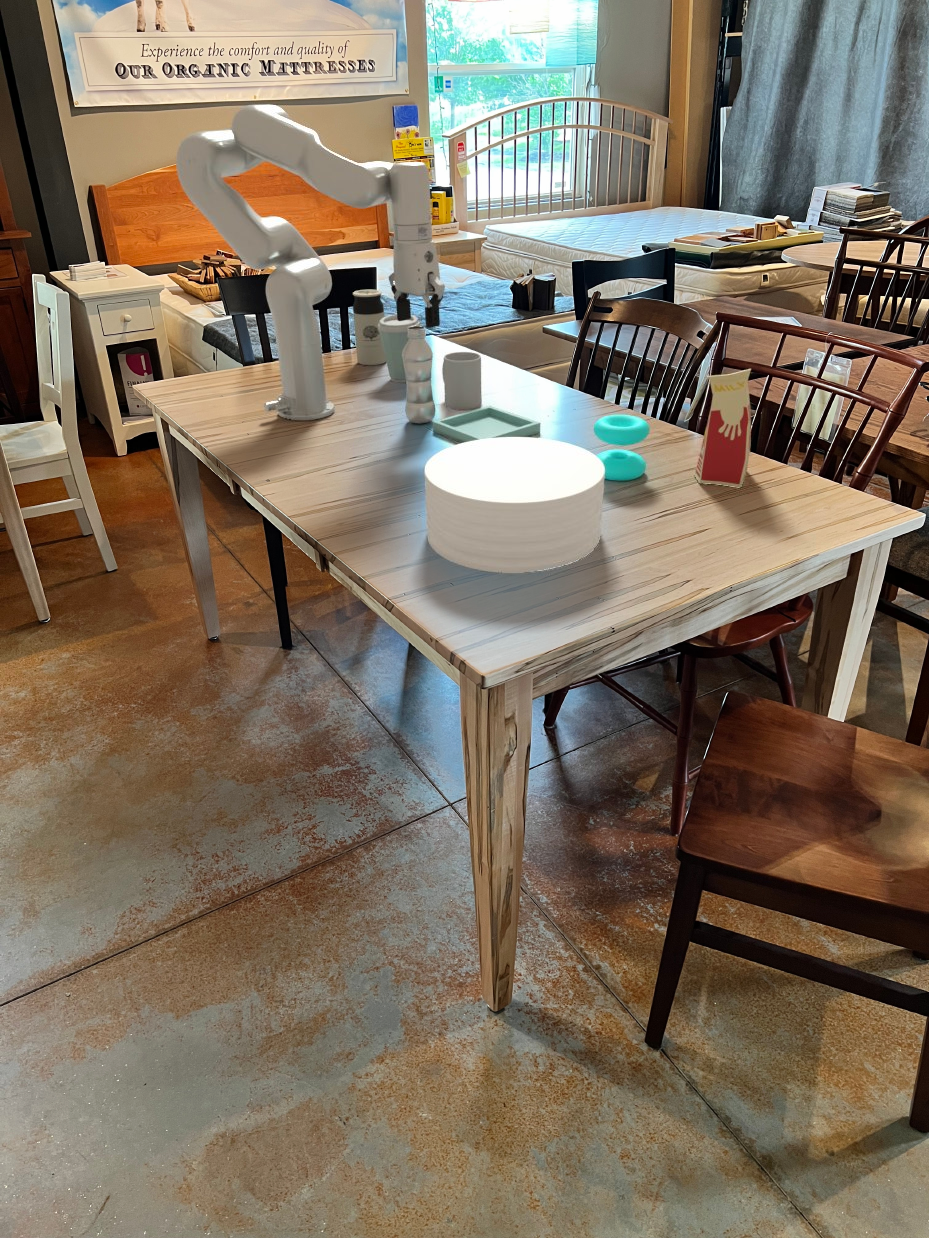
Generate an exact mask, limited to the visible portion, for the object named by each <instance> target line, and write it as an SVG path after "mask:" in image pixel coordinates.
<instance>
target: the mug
mask: <svg viewBox="0 0 929 1238" xmlns="http://www.w3.org/2000/svg"><path fill="white" fill-rule="evenodd" d="M441 372H442V381H443V383H444V384H443V385H444V386H443V387H444V405H445V407H446V408H448V409H451V410H457V411H469V410H470V411H471V410H476V409H477V408H478V409H479V407H480V408H481V406H482V402H483V400H482V357H481V354H478V353H477V352H472V351H471V352H470V351H457V352H451V353H447V354H445V355H444V356H443V362H442V371H441Z"/></svg>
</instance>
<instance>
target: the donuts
mask: <svg viewBox="0 0 929 1238" xmlns="http://www.w3.org/2000/svg"><path fill="white" fill-rule="evenodd" d="M593 431H594V432H593V433H594V436H596V437H597V439H599V440H600V441H602V442H604V443H606V444H609V445H613V446H632V445H636V444H639V443H640V442H642V441H644V440H645V439H646V438H647V437H648V436H649V433H650V425H649V424H648V422H647V421H646V420H644V418H641V417H639V416H635V415H630V414H629V415H628V414H611V415H610V414H609V415H605V416H602V417H600V418H599V419H597V421H596V422H595V423H594V426H593ZM596 456H597V457H598V458H599V459H600V460H601V461H602V463H603V464H604V467H605V478H604V480H609V481H616V482H617V481H618V482H619V481H620V482H621V481H623V482H624V481H631V480H635V479H638V478H640V477H641V476H642V475H644V473H645V471H646V467H647V463H646V461H645V459H644V458H643V457H642V456H641V455H640V454H638V453H636V452H634V451H632V450H627V449H609V450H604V451H602V452H599V453H598V454H596Z"/></svg>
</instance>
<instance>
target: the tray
mask: <svg viewBox="0 0 929 1238" xmlns="http://www.w3.org/2000/svg"><path fill="white" fill-rule="evenodd" d="M432 430H433V433H436V434H437V435H438V434H439V435H441V436H443V437H446V438H448V439H451V440H454V441H456V442H458V443H460V444H461V443H465V442H469V441H474V440H480V439H487V438H498V437H532V436H535V435H538V434H541V422H539V421H536V420H534V419H531V418H528V417H524V416H523V415H522V416H521V415H519V414H515V413H512V412H510V411H507V410H504V409H502V408H501V409H500V408H497V407H494V406H492V405H488V406H483V407H480V408H478V409H477V408H475V409H472V410H470V411H469V410H468V411H466V412H463V413H459V414H455V415H452V416H448V417H445V418H441V419H438V420H434V421H433V420H432Z"/></svg>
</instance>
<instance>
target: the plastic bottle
mask: <svg viewBox="0 0 929 1238" xmlns="http://www.w3.org/2000/svg"><path fill="white" fill-rule="evenodd" d="M407 337H408V338H409V341H408V342H407V344H406V345H405V347H404V349H403V352H402V358H403V363H404V368H405V375H406V380H407V381H406V382H405V383H406V398H405V399H406V401H405V407H404V409H405V411H404V412H405V415H406V416H405V417H406V419H407V420H408V421H409V423H413V424H426V423H429V422H431V421H432V422H433V420H434V418H435V415H436V406H435V401H434V397H433V396H434V395H433V388H432V370H433V369H432V366H433V357H434V355H433V354H434V353H433V350H432V348H431V346H430V345H429V343H428V341H427V340H426V339H425V338H426V337H427V334H426V326H422V325H421V326H412V327H408V335H407Z"/></svg>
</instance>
